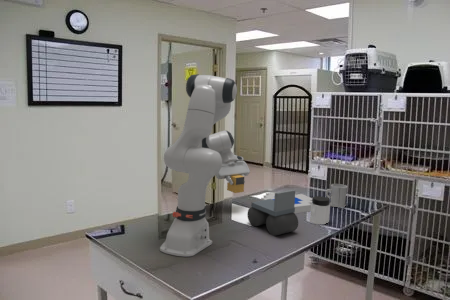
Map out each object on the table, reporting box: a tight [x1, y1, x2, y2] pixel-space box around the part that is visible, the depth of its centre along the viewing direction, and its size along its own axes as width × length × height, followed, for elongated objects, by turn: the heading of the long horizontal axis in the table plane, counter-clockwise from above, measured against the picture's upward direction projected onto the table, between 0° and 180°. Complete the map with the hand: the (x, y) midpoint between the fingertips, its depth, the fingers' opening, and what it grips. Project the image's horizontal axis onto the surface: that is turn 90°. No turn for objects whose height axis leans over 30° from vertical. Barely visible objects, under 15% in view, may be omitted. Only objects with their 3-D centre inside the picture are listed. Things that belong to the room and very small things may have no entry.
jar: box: [309, 195, 331, 225], centre depth 173 cm, size 9×8×12 cm
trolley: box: [247, 189, 299, 237], centre depth 162 cm, size 22×12×19 cm, turn 36°
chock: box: [226, 175, 245, 194], centre depth 183 cm, size 7×6×8 cm
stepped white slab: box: [260, 191, 313, 214], centre depth 200 cm, size 28×4×28 cm
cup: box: [325, 183, 348, 208], centre depth 201 cm, size 10×9×12 cm
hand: (238, 183), depth 182 cm, fingers closed on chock, 5 cm apart
